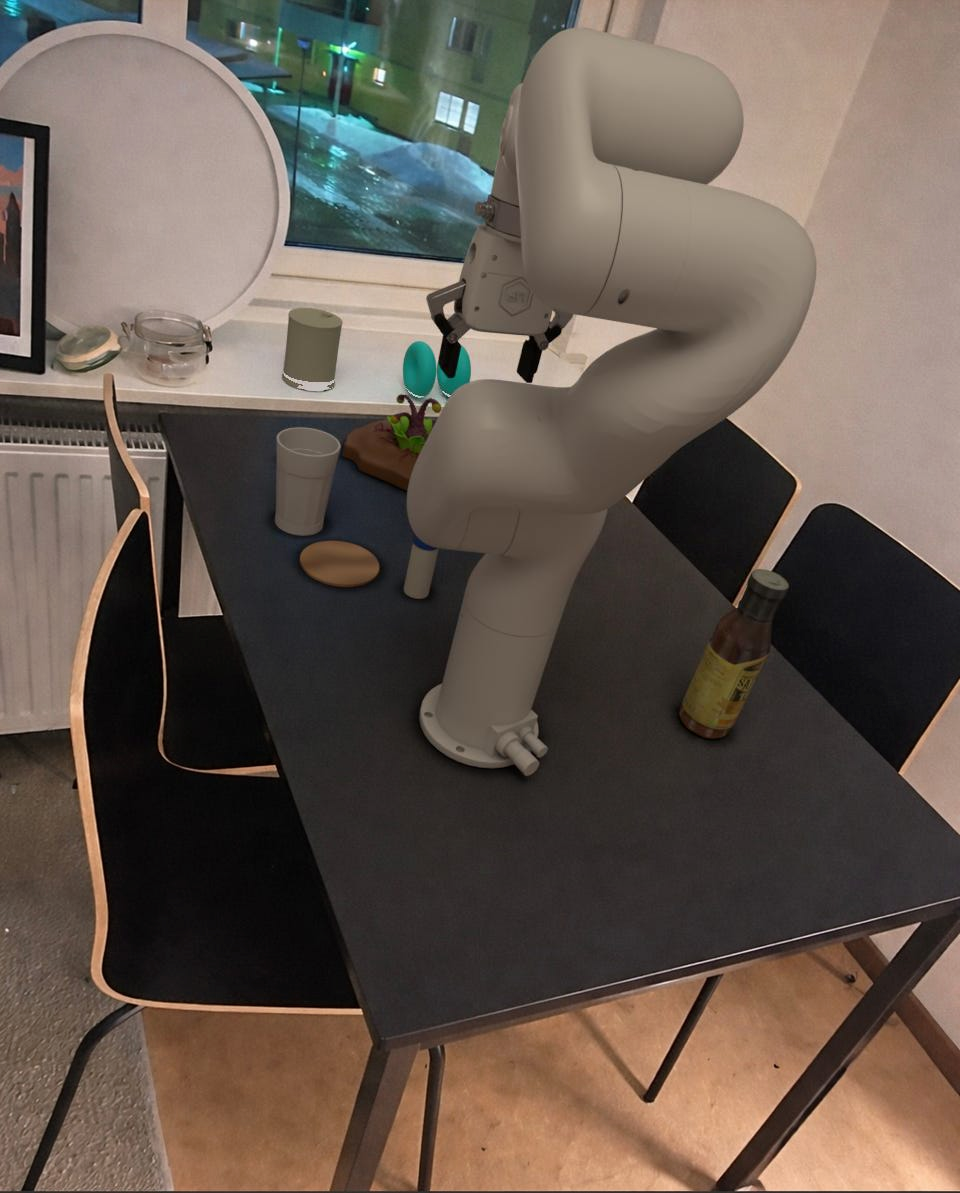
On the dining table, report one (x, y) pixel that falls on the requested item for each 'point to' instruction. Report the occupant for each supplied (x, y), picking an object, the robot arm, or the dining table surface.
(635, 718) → the dining table surface
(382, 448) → the plant
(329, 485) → the cup
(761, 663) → the sauce bottle
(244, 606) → the dining table surface
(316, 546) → the coaster
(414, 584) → the marker
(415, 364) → the teal oval lobes
